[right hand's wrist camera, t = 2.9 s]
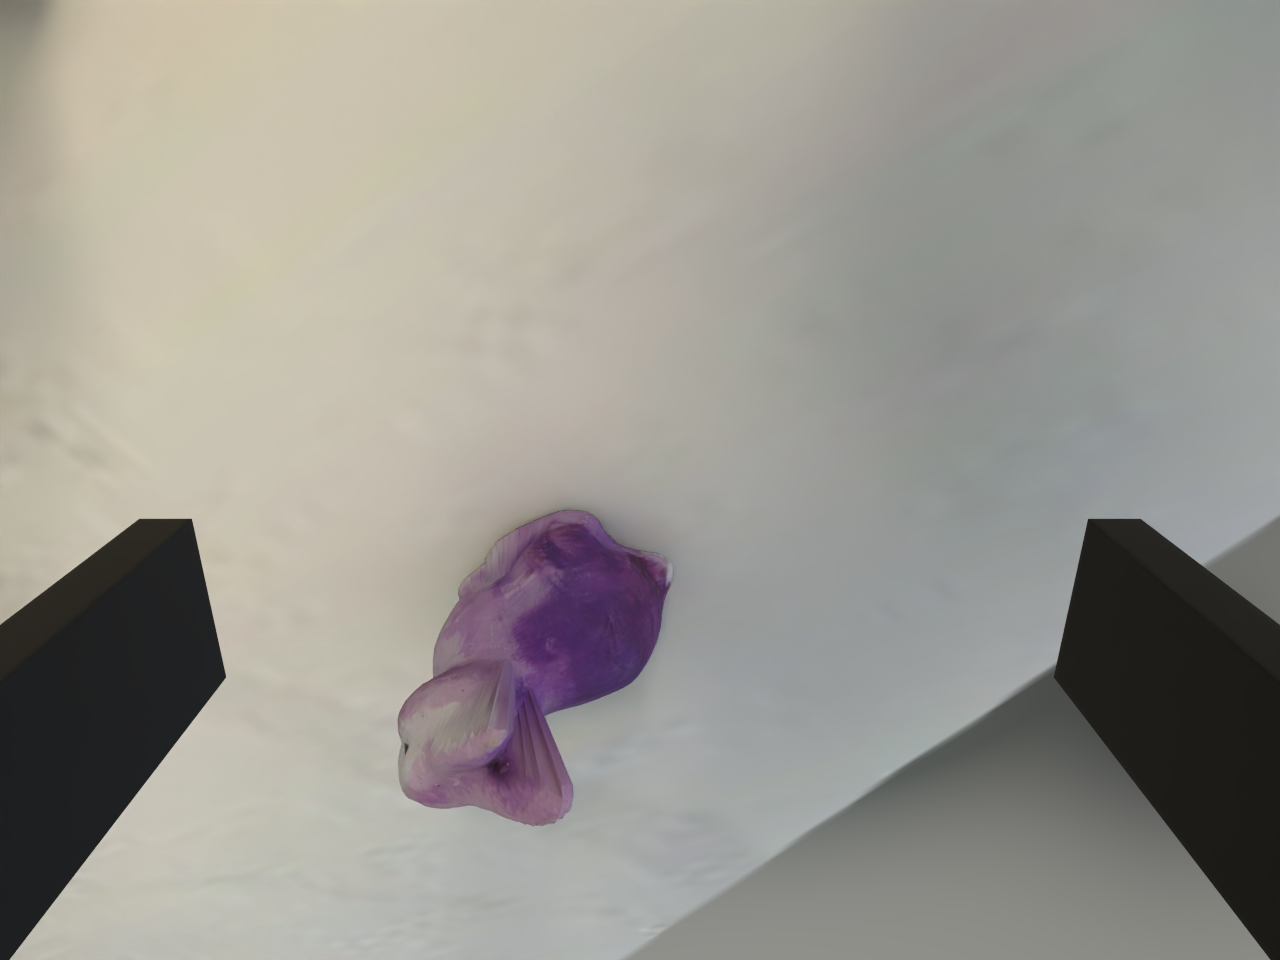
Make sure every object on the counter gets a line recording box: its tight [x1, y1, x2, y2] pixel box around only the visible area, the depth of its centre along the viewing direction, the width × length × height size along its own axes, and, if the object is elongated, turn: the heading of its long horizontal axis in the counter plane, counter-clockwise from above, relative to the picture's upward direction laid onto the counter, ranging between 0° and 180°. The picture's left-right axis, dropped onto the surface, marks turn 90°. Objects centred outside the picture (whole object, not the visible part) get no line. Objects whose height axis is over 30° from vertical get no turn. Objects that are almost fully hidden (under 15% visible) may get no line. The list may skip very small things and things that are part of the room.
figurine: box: [398, 510, 673, 826], centre depth 35 cm, size 9×10×15 cm
